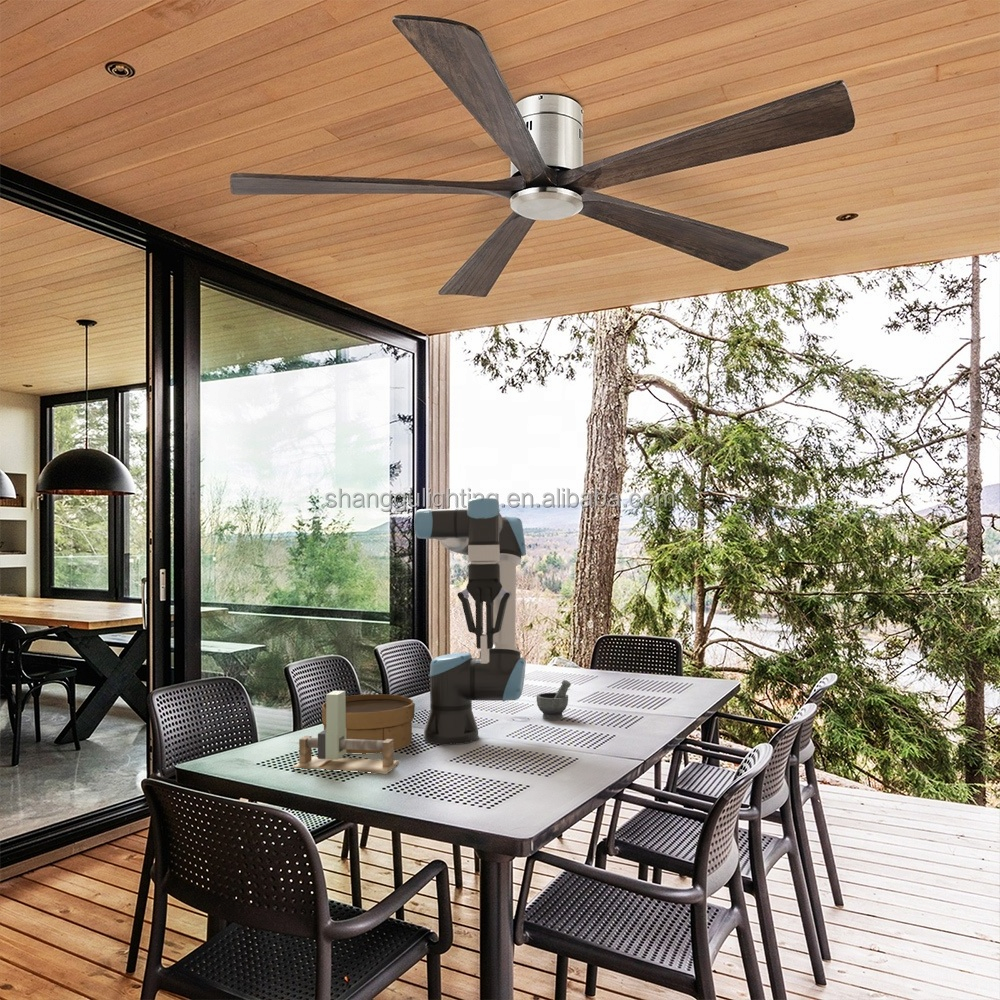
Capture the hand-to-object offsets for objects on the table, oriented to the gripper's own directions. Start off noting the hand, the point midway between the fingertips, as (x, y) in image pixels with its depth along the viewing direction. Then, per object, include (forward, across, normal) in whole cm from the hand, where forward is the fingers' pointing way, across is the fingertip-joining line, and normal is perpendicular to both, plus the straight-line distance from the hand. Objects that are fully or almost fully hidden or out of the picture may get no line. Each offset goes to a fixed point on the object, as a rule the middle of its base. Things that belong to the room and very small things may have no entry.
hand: (485, 662), depth 189 cm
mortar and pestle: (+27, -8, -61) cm, 67 cm away
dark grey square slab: (+24, +41, -2) cm, 47 cm away
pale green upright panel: (+24, +38, -2) cm, 45 cm away
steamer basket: (+27, +39, -25) cm, 53 cm away
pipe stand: (+26, +36, -2) cm, 44 cm away
